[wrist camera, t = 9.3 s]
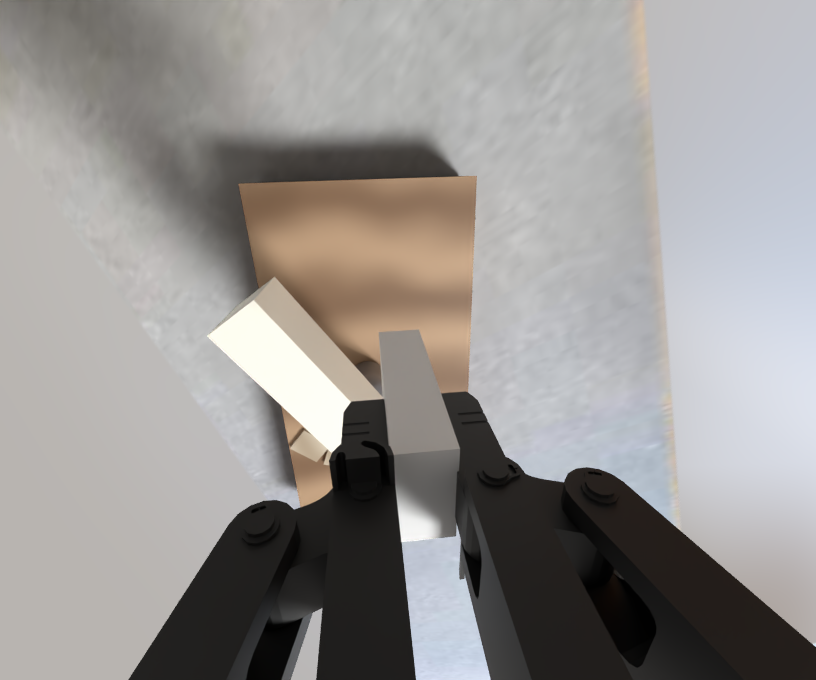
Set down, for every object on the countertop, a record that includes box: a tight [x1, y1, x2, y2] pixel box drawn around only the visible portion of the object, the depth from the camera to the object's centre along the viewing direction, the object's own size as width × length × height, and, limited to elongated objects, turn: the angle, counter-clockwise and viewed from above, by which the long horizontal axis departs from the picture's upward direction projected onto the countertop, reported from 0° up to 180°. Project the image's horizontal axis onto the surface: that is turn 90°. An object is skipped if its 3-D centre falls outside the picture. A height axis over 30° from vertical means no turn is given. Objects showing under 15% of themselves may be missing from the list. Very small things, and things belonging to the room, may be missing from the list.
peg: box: [208, 277, 383, 453], centre depth 23 cm, size 17×3×9 cm, turn 35°
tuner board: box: [238, 176, 477, 507], centre depth 29 cm, size 28×14×4 cm, turn 2°
